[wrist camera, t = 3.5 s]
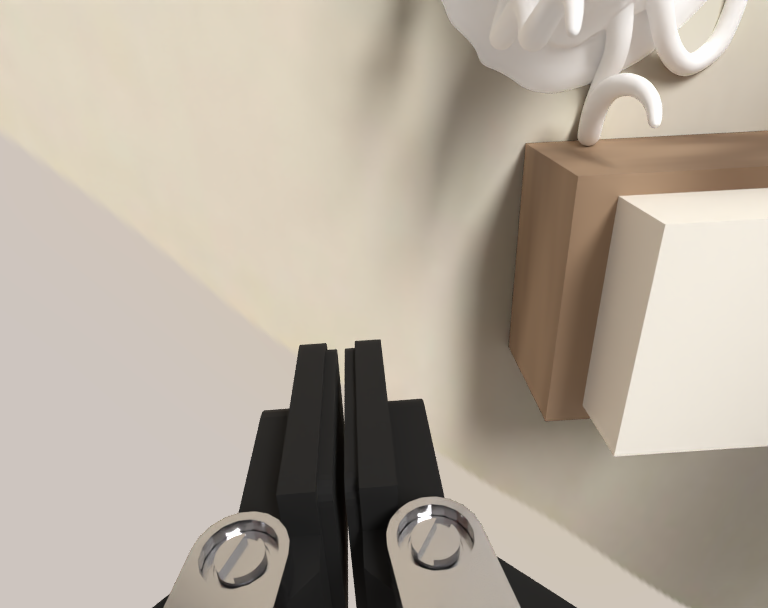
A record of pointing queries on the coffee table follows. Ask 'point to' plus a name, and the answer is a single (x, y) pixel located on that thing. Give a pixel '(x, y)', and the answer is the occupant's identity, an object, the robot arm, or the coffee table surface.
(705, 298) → the white rectangular block
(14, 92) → the coffee table surface
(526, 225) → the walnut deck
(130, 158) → the coffee table surface
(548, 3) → the shell
